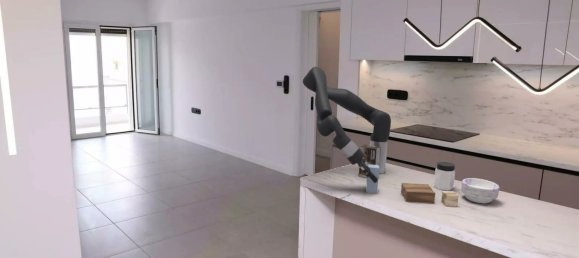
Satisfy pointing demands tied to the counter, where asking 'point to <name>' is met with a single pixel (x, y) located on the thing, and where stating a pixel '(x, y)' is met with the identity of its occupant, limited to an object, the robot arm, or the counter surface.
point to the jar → (444, 176)
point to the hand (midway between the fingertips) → (376, 179)
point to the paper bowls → (479, 190)
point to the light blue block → (371, 185)
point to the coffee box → (370, 156)
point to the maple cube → (449, 198)
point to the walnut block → (417, 193)
